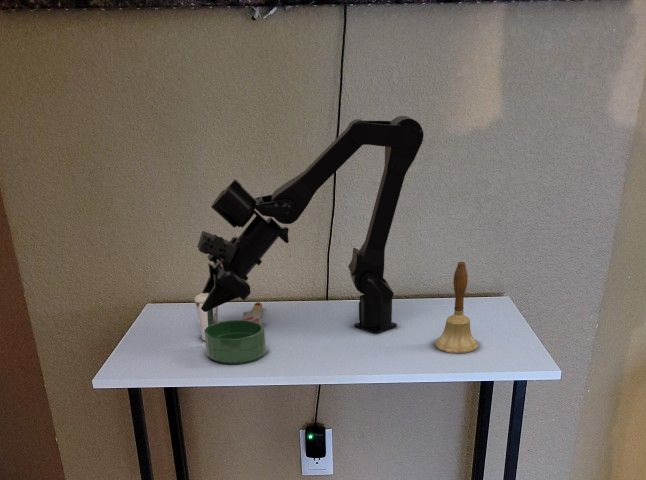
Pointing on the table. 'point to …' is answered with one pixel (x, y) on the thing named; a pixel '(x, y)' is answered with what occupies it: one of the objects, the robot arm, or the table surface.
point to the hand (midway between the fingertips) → (201, 306)
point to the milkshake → (205, 313)
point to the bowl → (235, 341)
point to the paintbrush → (254, 313)
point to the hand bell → (458, 320)
